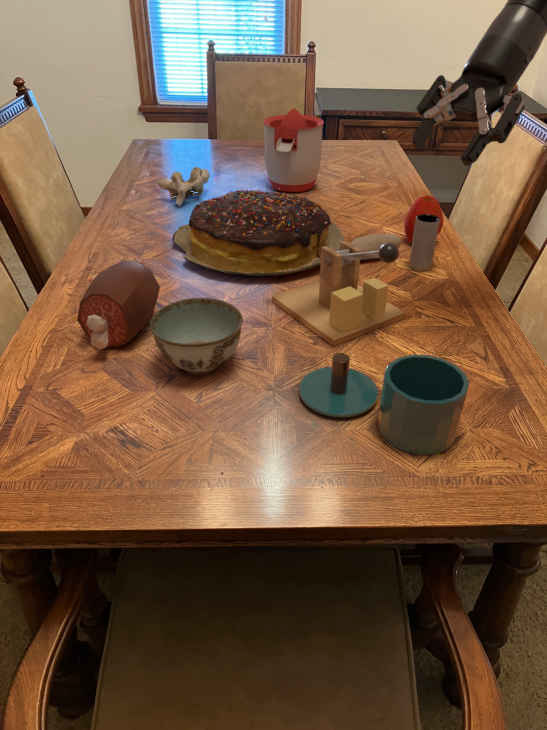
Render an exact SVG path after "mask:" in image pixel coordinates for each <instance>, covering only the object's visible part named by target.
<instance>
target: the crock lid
mask: <svg viewBox="0 0 547 730" xmlns="http://www.w3.org/2000/svg"><path fill="white" fill-rule="evenodd" d="M350 362H351V357H350V355H348V354H347V353H344V352H338V353H337V352H336V353H335V354H333V355H332V359H331V366H327V367H326V366H325V367H321V368H317V369H315V370H313V371H311V372H309V373H308V374H306V375H304V377H303V378H302V380H301V381H300V383H299V389H298V390H299V391H298V392H299V393H298V394H299V396H300V399H301V401H302V402H303V403H304V404H305V406H307V407H308V408H309V409H311V410H312V411H314V412H316V413H318V414H321V415H323V416H328V417H332V418H352V417H356V416H360V415H364V414H365V413H367V412H368V411H370V410H371V409H372V408H373V407H374V406H375V405H376V403H377V401H378V396H379V391H378V387H377V385H376V383H375V381H374V380H372V378H370V377H369V376H368V375H366V374H365V373H363V372H361V371H359V370H356V369H353V368H350V364H351V363H350Z"/></svg>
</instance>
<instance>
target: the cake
mask: <svg viewBox="0 0 547 730" xmlns="http://www.w3.org/2000/svg"><path fill="white" fill-rule="evenodd" d="M345 239H346V238H345V235H344V233H343V231H342V229H341V228H340V227H339V226H338V225H337V224H336V223H334V222H333V221H332V220H331V216H330V215H329V213H328V212H327V211H326V209H323V208H322V206H321V205H319V204H317V203H316V202H313V201H311V200H309V199H308V198H306V197H305V196H303V197H302V196H298V195H296V194H290V193H285V192H277V191H269V190H267V191H266V190H265V191H262V190H260V189H257V190H252V189H250V190H248V189H246V190H244V189H241V190H235V191H229V192H226V194H224V195H221V196H217V197H212V198H209V199H208V200H206V199H205V200H201V202H199V203H196V204H195V206H194V207H193V209H192V211H191V213H190V216H189V220H188V223H187V224H183V225H181V226H179V227H178V229H176V230H175V231H174V232H173V234H172V237H171V241H172V242H174V243H175V244H176V245H177V246H178V247H180V248H181V249H182V250H183V251H184V252H185V254H182V257H183V259H184V260H186V261H189V262H193V263H194V264H196V265H199V266H201V267H204V268H206V269H209V270H214V271H217V272H221V273H224V274H226V275H227V274H230V275H239V276H259V277H260V276H263V277H264V276H281V275H292V274H294V273H298V272H302V271H307V270H311V269H313V268H315V267H318V266H321V248H322V247H324V246H327V247H329V248H330V249H332V250H334V251H339V248H340V242H342V241H346V240H345Z"/></svg>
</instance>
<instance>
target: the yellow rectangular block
mask: <svg viewBox="0 0 547 730" xmlns="http://www.w3.org/2000/svg"><path fill="white" fill-rule="evenodd" d="M362 285H363V286H362V287H363V294H364V295H363V304H362V313H363V314H364V315H366V316H367V317H369V318H371V319H372V320H376V319H379V318H382V317H384V316H385V309H386V302H388V294H389V284H387V283H385V282H384V281H382V280H380V279H378V278H377V277H372V278H370V279H367V280H364V281H363V284H362Z"/></svg>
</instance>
